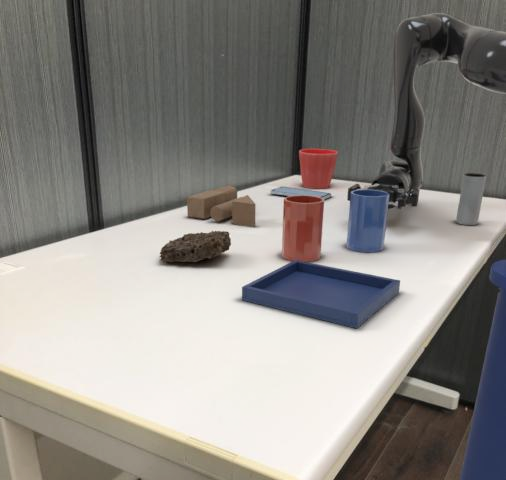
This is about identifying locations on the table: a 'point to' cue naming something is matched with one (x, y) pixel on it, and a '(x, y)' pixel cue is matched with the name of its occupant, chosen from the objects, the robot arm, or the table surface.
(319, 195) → the smartphone
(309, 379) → the table surface
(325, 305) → the blue tray
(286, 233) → the red cup
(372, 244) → the blue cup
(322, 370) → the table surface
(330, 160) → the flower pot
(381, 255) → the table surface
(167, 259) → the dark brown rock
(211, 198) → the wooden block set
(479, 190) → the grey hollow tube
